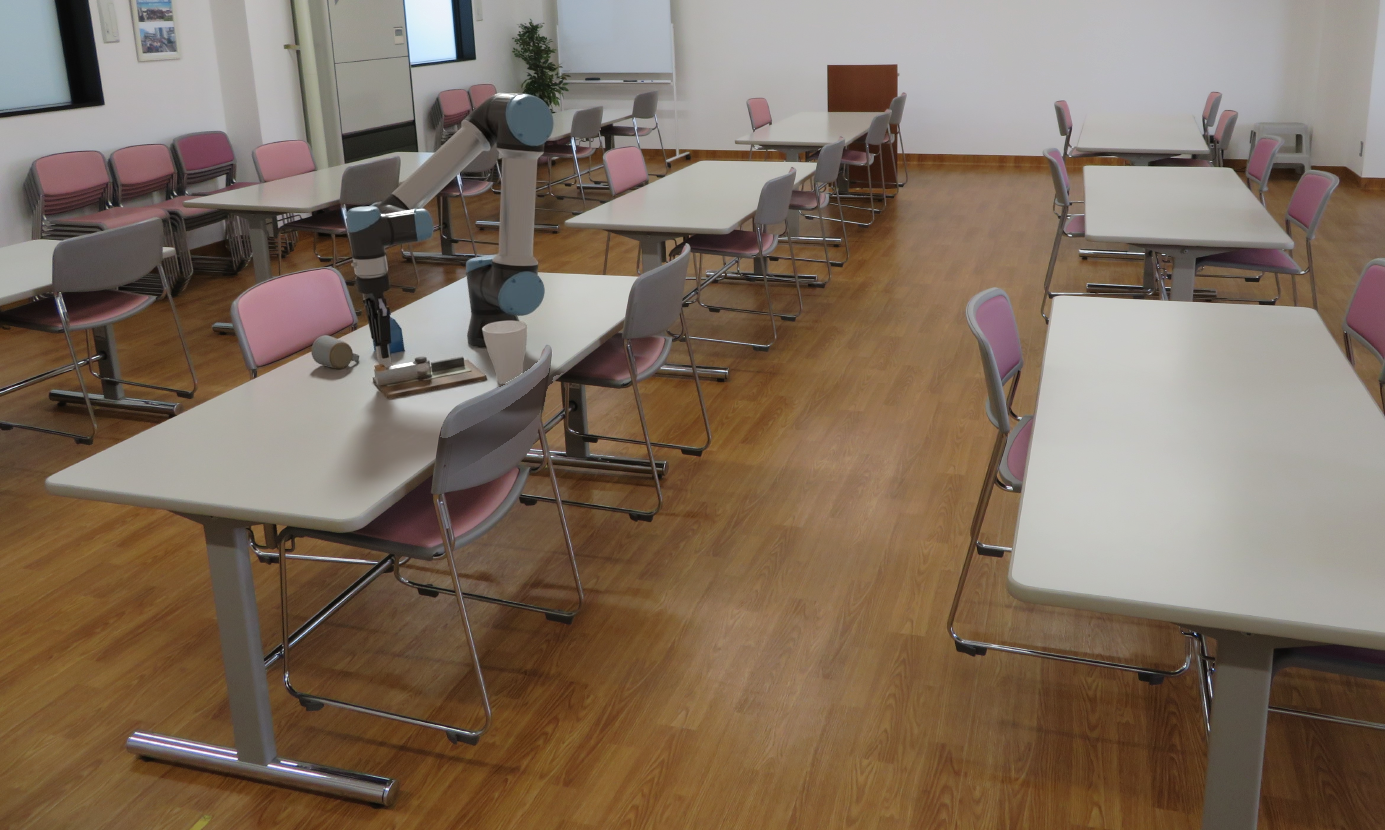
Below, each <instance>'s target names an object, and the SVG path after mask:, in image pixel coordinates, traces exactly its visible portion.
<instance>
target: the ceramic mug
mask: <svg viewBox="0 0 1385 830" xmlns="http://www.w3.org/2000/svg"><path fill="white" fill-rule="evenodd" d="M310 351H311V356H312V359H313V360H314V361H315V363H316V364H318V365H322V366H325V367H327V368H328V367H329V368H332V369H336V370H337V369H338V370H341V369H345V368H346V367H348V366H349V365H350V364H351V361H353V362H358V361H360V355H359V354H356V353H354V352H353V349H352V347H351V346H350V344H348V343H347V342H345V341H344V340H341V339H338V338H336V337H333V336H331V335H324V334H323V335H321V336H320V335H319V337H317V338H316V339H315V340H314V342H313V344H312V346H311V349H310Z"/></svg>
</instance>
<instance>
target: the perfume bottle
mask: <svg viewBox="0 0 1385 830" xmlns="http://www.w3.org/2000/svg"><path fill="white" fill-rule="evenodd" d="M386 307H389V308H390V305H386ZM391 314H392V313H391V310H390V331H391V343H389V351H390V355H392V354H397V353H403V352H406V351H405V343H404V336H403V330H402V327H401V325H400V324H399V323H398V322H397V320H396V318H395V319H394V317H391ZM372 345H373V351H375V352H376V346H375V342H374V339H372Z"/></svg>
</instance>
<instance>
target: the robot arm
mask: <svg viewBox="0 0 1385 830" xmlns="http://www.w3.org/2000/svg"><path fill="white" fill-rule="evenodd" d="M553 130H554V116H553V112H552V110H551V109H550V107H549V106H548V104H547V103H546V102H545V101H544V100H543V99H541V98H540V97H537V96H536V95H532V94H528V93H516V92H515V93H513V92H504V91H503V92H498V93H496V94H493V95H491V96H489V97H487V98H486V99H485V100H484V101H483V102H481V103H480V104H479V105H478V106H477V107H475V108H474V109H473V110H472V111H471V112H470V113H469V114H468V115H467V116H466V117H464V119H463V120H462V121H461V127H460V129H458V130H457V131H456V132H455V133H454V134H453V135H452V136H451V137H450V138H449V139H447V141H446V142H445V143H443V144H442V145H441V146H440V147H439V148H438V149H437V150H436V151H435V152H434V153H433V154H432V155H431V156H430V157H428V158H427V159H426V160H425V161H424V162H423V163H422V164H421V165H420V166H419V167H418V168H417V169H415V171H414V172H413V173H411V174H410V175H409V176H408V177H407V178H406V179H405V180H404V181H403V182H402V183H401V184H399V186H398V187H397V188H396V189H395V190H394V191H393V192H392V193H390V194H389V195H387V197H386V198H384V200H382V201H376V202H374V203H372V204H371V205H369V206H367V205H366V206H357V207H353V208H349V209H348V211H347V212H346V225H347V226H346V227H347V233H348V238H349V244H350V251H351V255H352V257H351V258H352V263H350V265H351V268H353V269H354V274H355V275H356V277H355V285H356V290H357V292H358V293H359V294H362V295H365V298H363V299H362V303H363V306H364V309H365V312H366V313H365V315H366V317H367V319H366V320H367V322H368V327H369V332H370V337H371V340H373V339H374V342H375V346H376V351H375V352H376V358H377V363H378V364H377V365H381V364H383V365H384V366H385V367H387V366H393V365H392V359H391V358H392V357H391V354H390V351H389V343H391V331H390V317H391V315H390V311H391V308H390V306H389V307H386V306H388V305H387V299H386V298H385V296H384V293H385V292H387V291H389V290H390V289H391V284H390V276H389V273H388V271H389V267H388V266H389V265H388V261H387V259H388V258H387V254H386V247H391V246H396V245H404V244H412V243H420V242H422V241H427V240H430V239H431V238H432V237H433V234H434V221H433V219H432V216H431V214H430V212H429V210H427V209H426V208H424V207H425V206H426V205H427V204H428V203H429V202H430V201H431V200H433V198H435V196H437V195H438V194H439V193H440V192H441V191H442V190H443V189H444V188H445V187H446V186H447V185H448V184H449V183H450V182H452V180H454V178H455V177H457V176H458V175H459V174H460V173H461V172H462V171H463V170H464V169H466V167H467V166H468V165H469V164H471V163H472V162H473V161H474V160H475V159H476V158H477V157H478V156H479V155H480V154H481V153H482V152H484V151H485V152H490V150H491V149H492V148H494V147H495V146H496V150H497V151H498V152H499V154H500V155H501V157H502V159H501V182H500V183H501V184H500V206H499V207H500V208H499V210H500V212H499V230H498V231H499V232H498V235H499V236H498V251H497V252H498V253H496V254H489V255H488V254H487V255H483V256H477V257H473V258H469V259H468V260H466V263H465V275H466V282H467V290H468V296H469V298H468V299H469V305H470V319H469V324H468V330H467V335H466V336H467V343H468V345H469V346H471V347H474V348H480V349H487V347H486V344H485V341H484V336H483V331H482V328H483V327H484V326H485V325H487V324H490V323H494V322H499V321H520V319H519V317H521V316H522V317H523V316H526V315H527V316H528V315H530V314H531V313H534V312H535V311H536V310H537V309H538V308H539V307H540V306H541V304H542V302H543V300H544V298H545V293H546V292H545V290H546V289H545V283H544V282H543V279H542V278H541V277H540V276H539V261H538V260H537V259H536V257H534V253H533V252H534V236H535V234H534V233H535V213H536V212H535V211H536V195H537V192H536V191H537V177H538V176H537V174H538V173H537V171H538V169H537V168H538V160H539V158H540V157H541V156H543V154H544V153H545V143H546V142H547V141H548V140H549V138H550V137H551V136H552V133H553Z"/></svg>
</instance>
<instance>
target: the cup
mask: <svg viewBox="0 0 1385 830" xmlns="http://www.w3.org/2000/svg"><path fill="white" fill-rule="evenodd" d="M527 326H528V324H527V323H525V322H524V321H520V320H519V321H499V322H494V323H490V324H487V325H485V326H484V327H483V328H482V331H483V336H484V341H485V344H486V347H487V348H486V350H487V352H488V355H489V357H490V361H491V362H492V366H493V368H494V371H495V376H496V380H497V383H499V385H506V384H505V383H506V382H508V381H510V380H512V379H514V378H515V377H517V376H519V375H520V374H521V373H523V374H524V371H523V369H524V363H525V362H524V361H525V354H526V350H527V341H528V327H527Z"/></svg>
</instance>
